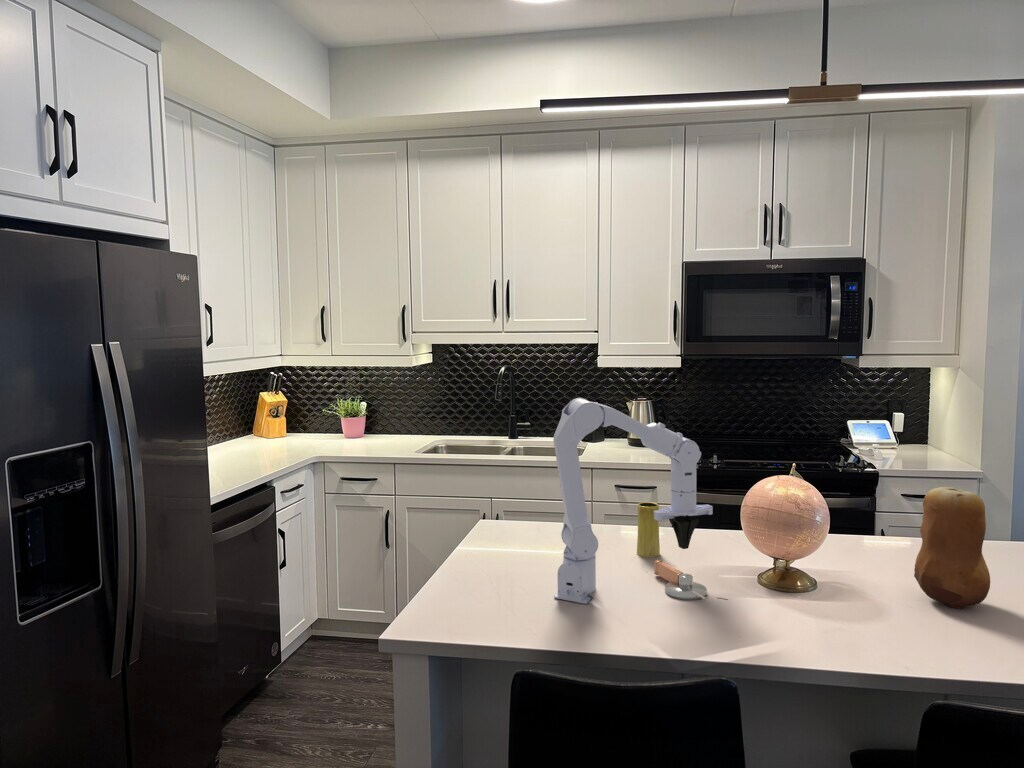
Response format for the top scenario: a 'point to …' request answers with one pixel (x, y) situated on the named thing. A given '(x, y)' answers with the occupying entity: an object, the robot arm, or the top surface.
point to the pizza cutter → (679, 583)
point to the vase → (648, 530)
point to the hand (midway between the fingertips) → (683, 547)
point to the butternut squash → (953, 548)
